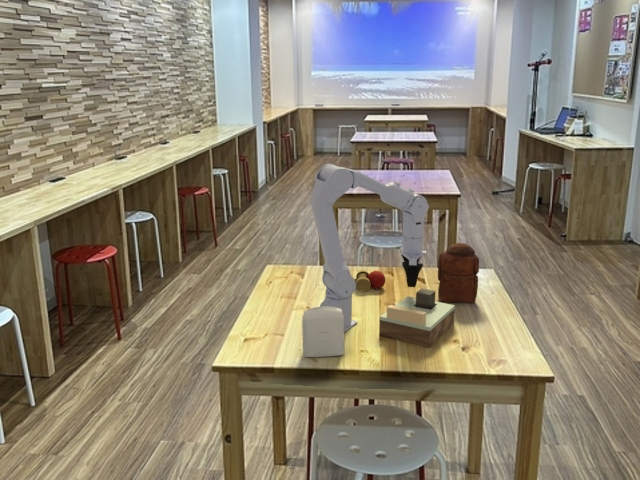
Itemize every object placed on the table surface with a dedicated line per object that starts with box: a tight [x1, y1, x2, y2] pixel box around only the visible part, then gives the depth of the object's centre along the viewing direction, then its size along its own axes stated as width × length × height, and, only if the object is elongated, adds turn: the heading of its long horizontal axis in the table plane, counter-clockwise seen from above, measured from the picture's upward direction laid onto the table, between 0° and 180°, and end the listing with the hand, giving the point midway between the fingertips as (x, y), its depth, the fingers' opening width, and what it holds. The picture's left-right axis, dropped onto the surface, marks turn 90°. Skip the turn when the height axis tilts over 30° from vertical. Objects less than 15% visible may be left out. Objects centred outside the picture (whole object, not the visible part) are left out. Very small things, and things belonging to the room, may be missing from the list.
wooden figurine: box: [437, 242, 480, 304], centre depth 186 cm, size 12×6×18 cm, turn 85°
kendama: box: [354, 269, 386, 292], centre depth 199 cm, size 8×6×18 cm
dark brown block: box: [415, 287, 437, 310], centre depth 169 cm, size 4×4×6 cm
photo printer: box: [301, 306, 345, 358], centre depth 150 cm, size 10×4×12 cm, turn 96°
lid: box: [379, 295, 456, 331], centre depth 164 cm, size 18×14×4 cm
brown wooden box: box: [378, 309, 455, 349], centre depth 166 cm, size 18×14×4 cm
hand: (411, 282), depth 175 cm, fingers open, 7 cm apart
